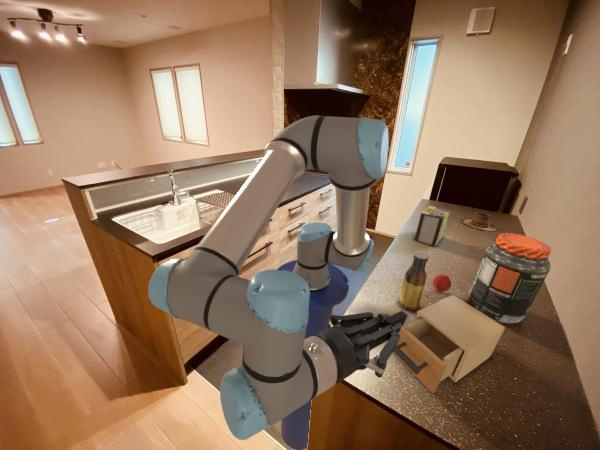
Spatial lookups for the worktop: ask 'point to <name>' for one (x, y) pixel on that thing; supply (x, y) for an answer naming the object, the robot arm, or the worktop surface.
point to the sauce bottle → (414, 282)
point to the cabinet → (464, 331)
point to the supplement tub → (510, 277)
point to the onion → (442, 282)
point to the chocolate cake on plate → (480, 221)
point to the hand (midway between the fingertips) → (402, 317)
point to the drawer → (427, 353)
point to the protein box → (431, 225)
